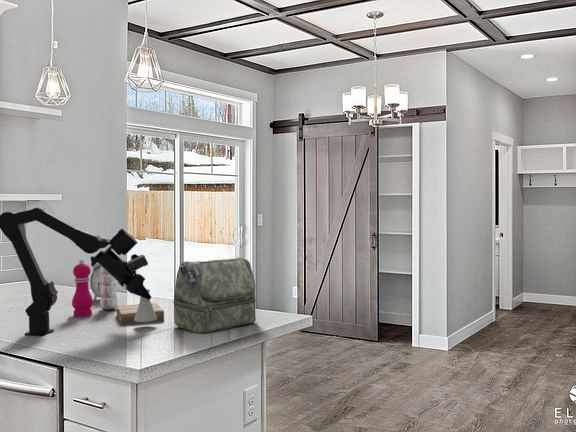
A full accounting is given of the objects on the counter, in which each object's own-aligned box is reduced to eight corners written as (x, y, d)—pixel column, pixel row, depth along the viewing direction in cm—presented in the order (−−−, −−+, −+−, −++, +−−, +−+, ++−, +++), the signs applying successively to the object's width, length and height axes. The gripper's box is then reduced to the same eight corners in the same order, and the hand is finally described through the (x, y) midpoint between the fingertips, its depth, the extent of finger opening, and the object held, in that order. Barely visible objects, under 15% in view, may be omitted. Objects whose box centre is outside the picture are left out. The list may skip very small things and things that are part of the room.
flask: (148, 317, 205) (147, 287, 204) (161, 319, 200) (160, 289, 199) (129, 321, 199) (128, 290, 199) (142, 324, 194) (141, 292, 194)
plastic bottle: (99, 311, 226) (98, 257, 226) (100, 308, 233) (99, 255, 232) (118, 310, 228) (116, 257, 228) (118, 307, 235) (116, 255, 234)
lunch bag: (197, 336, 185) (196, 264, 184) (165, 327, 198) (164, 259, 198) (263, 323, 203) (263, 257, 202) (230, 316, 216) (229, 254, 215)
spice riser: (164, 321, 209) (163, 310, 208) (121, 324, 204) (121, 313, 203) (156, 312, 224) (156, 303, 223) (116, 315, 219) (116, 306, 218)
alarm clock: (90, 299, 254) (89, 263, 254) (104, 297, 259) (103, 261, 259) (105, 302, 246) (105, 265, 246) (120, 300, 252) (119, 263, 251)
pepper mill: (86, 317, 216) (85, 260, 215) (68, 316, 218) (66, 260, 217) (97, 313, 223) (96, 258, 223) (78, 313, 225) (77, 258, 224)
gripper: (137, 249, 189) (173, 282, 193) (127, 244, 206) (160, 275, 210) (111, 276, 186) (148, 309, 190) (103, 269, 203) (137, 300, 207)
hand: (149, 297), depth 200 cm, fingers closed on flask, 3 cm apart
